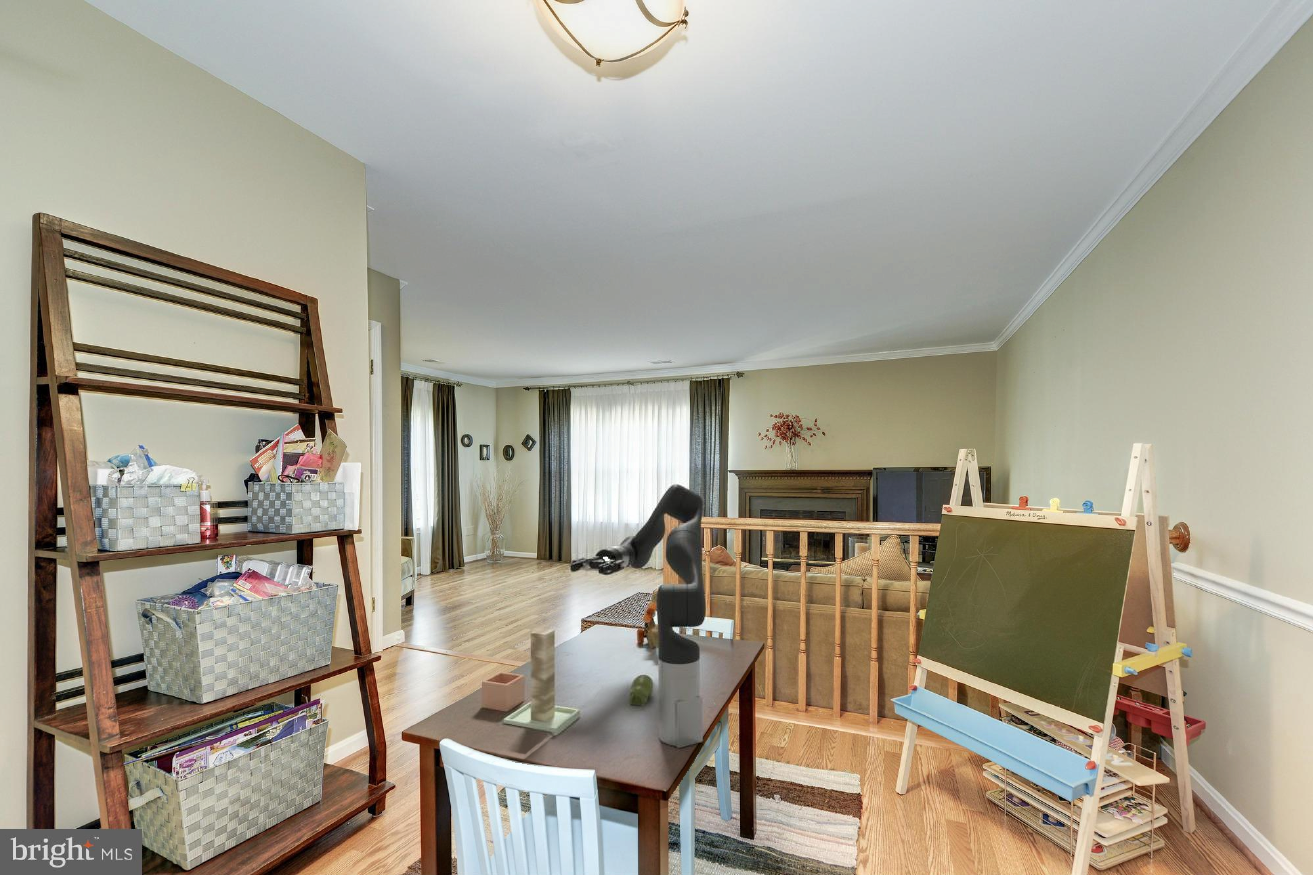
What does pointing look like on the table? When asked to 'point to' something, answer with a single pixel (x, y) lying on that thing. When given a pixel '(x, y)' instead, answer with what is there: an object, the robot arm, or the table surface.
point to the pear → (641, 690)
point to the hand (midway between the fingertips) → (585, 568)
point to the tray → (553, 725)
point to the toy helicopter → (649, 627)
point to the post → (542, 675)
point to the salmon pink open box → (503, 691)
